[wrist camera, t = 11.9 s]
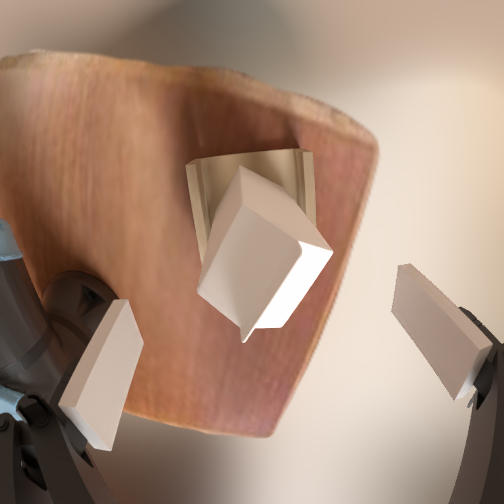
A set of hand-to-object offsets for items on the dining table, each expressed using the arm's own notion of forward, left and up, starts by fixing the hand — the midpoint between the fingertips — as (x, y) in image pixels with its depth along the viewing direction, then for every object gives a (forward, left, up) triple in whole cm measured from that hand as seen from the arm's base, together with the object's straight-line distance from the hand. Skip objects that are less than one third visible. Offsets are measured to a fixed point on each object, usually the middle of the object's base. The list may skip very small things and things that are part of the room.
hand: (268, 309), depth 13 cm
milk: (0, 0, -23) cm, 23 cm away
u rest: (0, 0, -24) cm, 24 cm away
